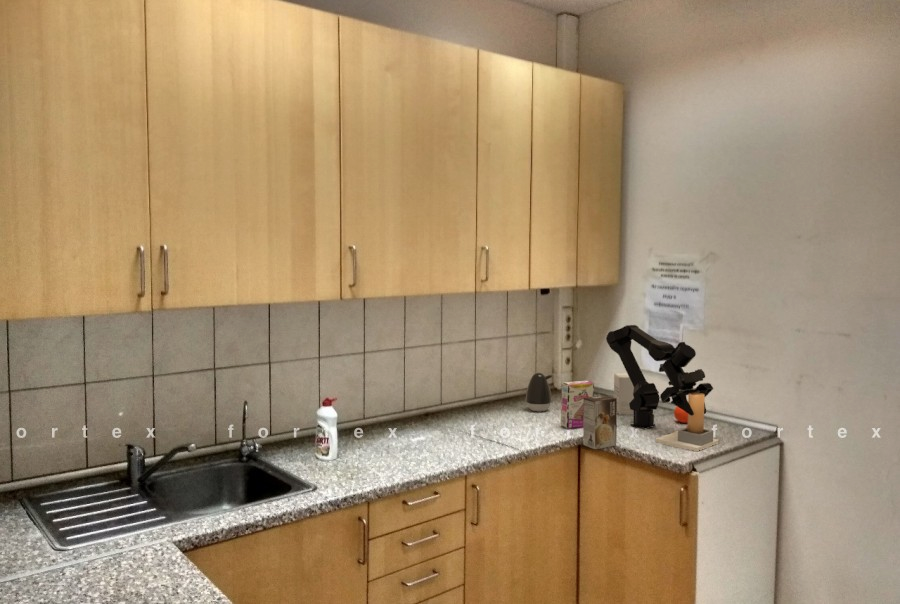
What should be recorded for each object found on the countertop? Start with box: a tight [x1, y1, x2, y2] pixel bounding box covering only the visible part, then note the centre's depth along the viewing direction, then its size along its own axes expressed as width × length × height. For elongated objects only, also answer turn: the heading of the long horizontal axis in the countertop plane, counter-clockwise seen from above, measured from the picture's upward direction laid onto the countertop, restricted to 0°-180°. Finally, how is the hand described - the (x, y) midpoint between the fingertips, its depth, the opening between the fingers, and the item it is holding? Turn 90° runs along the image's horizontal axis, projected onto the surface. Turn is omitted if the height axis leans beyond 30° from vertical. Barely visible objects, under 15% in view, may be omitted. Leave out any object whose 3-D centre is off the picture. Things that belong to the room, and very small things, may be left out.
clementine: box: [673, 406, 688, 424], centre depth 267 cm, size 8×7×7 cm
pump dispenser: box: [525, 372, 553, 413], centre depth 286 cm, size 10×10×15 cm
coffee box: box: [582, 394, 618, 450], centre depth 236 cm, size 9×6×16 cm
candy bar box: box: [560, 380, 595, 430], centre depth 261 cm, size 11×5×16 cm, turn 113°
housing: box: [655, 426, 720, 452], centre depth 240 cm, size 15×14×5 cm
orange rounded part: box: [687, 393, 706, 434], centre depth 237 cm, size 5×5×13 cm
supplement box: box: [613, 372, 634, 416], centre depth 282 cm, size 9×9×15 cm
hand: (699, 414), depth 236 cm, fingers closed on orange rounded part, 5 cm apart
